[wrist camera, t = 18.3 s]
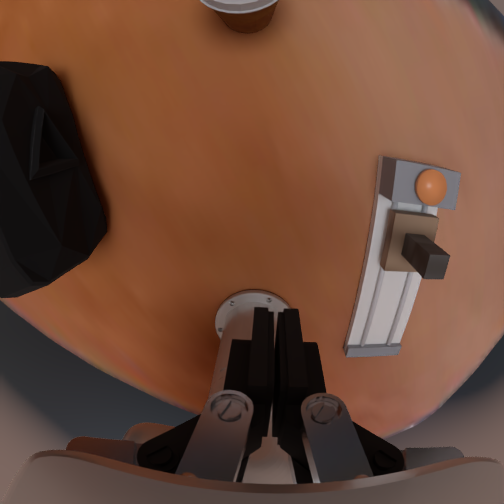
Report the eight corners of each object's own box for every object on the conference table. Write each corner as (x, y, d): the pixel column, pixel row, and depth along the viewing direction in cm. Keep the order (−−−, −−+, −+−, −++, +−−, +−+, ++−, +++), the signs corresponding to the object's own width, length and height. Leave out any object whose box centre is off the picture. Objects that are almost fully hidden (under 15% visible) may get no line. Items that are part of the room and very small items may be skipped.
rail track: (393, 346, 47) (404, 368, 42) (343, 347, 47) (350, 371, 42) (438, 166, 35) (460, 172, 29) (378, 155, 35) (396, 159, 29)
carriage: (420, 266, 38) (449, 297, 30) (379, 264, 38) (403, 297, 30) (432, 214, 35) (467, 236, 27) (390, 209, 35) (420, 231, 27)
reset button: (434, 202, 32) (443, 207, 30) (407, 198, 32) (415, 203, 30) (439, 169, 31) (449, 172, 28) (411, 164, 31) (420, 166, 29)
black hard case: (25, 96, 33) (-64, 102, 14) (74, 56, 31) (-20, 37, 12) (78, 252, 43) (1, 316, 25) (133, 230, 41) (53, 299, 23)
